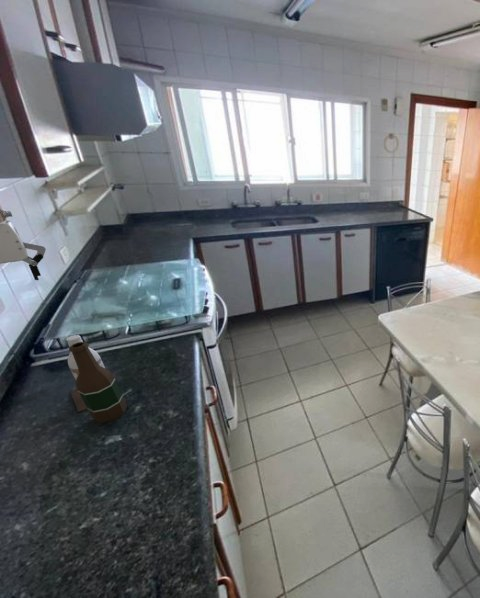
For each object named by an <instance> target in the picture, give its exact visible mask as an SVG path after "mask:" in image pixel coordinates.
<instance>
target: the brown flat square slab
mask: <svg viewBox="0 0 480 598" xmlns="http://www.w3.org/2000/svg"><path fill="white" fill-rule="evenodd" d="M113 376H114V377H115V379H116V380H117V375H113ZM70 395H71V398H72V399H73V403H74V405H75V408H76V410H77V412H78V413H81V412H84V411H86V410H88V409H87V407H86V405H85V403H84V401H83V399H82V397H81V395H80V394H79V392H78V389H77V388H76V389H74V390H72V391H70Z"/></svg>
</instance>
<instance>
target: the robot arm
mask: <svg viewBox="0 0 480 598" xmlns="http://www.w3.org/2000/svg"><path fill="white" fill-rule="evenodd" d="M10 217H11V218H12V217H13V213H12V211H11V210H10V211H6V210H3V209H1V208H0V265H1V264H9V263H14V262H22V261H23V262H24V263H26V264H28V267H29V269H30V272H31V275H32V277H33V278H34V281H39V277H41V276H42V275H41V272H40V270H39V267H38V265H39V263H40V262H41V261H42V260H43V259H44V256H45V254H46V250H47V249H46V247H45V246H42V245H37V244H33V243H29V242H24V241H23V240H22V237H21V236H20V234H19V232H18V230H17V228H16V227H15V225H14V224H13V223H12V222H11V220H7V218H10ZM27 249H28V250H32V251H36V254H35V255H34V256H33V257H31V256H29V255H28V252H27Z"/></svg>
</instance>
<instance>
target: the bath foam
mask: <svg viewBox="0 0 480 598" xmlns="http://www.w3.org/2000/svg"><path fill="white" fill-rule="evenodd" d="M65 340H66V343H67V344H68V346H69V347H70V346H71V345H73V344H75V343H78V342H84V340H83V338H82V337H81V335H79V334H73V335H70V336H68V337H67V338H66V339H65ZM88 348H89V350H90V351H91V353H92V355H93V356H94V358H95V360H96V362H97V363H98V364H99V365H100V366H101V367H103V368H105V369H106V367H105V364H104V362H103V360H102V358H101V355H100V354H99V353H98V351H96V350H94V349H93V348H91V347H90V346H88ZM67 365H68V368H69V370H70V372H71V374H72V376H73V377H74V379H75V381H76V379H77V377H78V375H79V370H78V367H77V364H76V362H75V359H74V356H73V354H72V352H70V351H69V354H68V357H67Z"/></svg>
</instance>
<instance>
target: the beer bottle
mask: <svg viewBox="0 0 480 598" xmlns="http://www.w3.org/2000/svg"><path fill="white" fill-rule="evenodd" d="M88 347H89V348H90V345H89V344H88V342H85V341H83V342H78V343H75V344H73V345H71V346H69V347H68V351H69V353H70V352H72V354H73V356H74V359H75V362H76V364H77V367H78V370H79V375H78V377H77V379H76V380H75V386H76V390H77V389H78V392H79V394H80V395H81V397H82V399H83V401H84V403H85V405H86V407H87V409H86V410H88V413H89V414H90V417H91V418H92V419H93V420H94V421H95V422H98V423H99V424H102V423H108V422H112V421H114V420H116V419H117V418H119V417H120V416H122V415H124V414H125V412H126V410H127V408H128V405H127V402H126V399H125V397H124V395H123V392H122V390H121V388H120V386H119V384H118V382H117V378H116V379H115V377H114V376H115V375H114V373H113V372H111V371H110V370H109V369H107V368H106V367H105V368H103V367H101V366H100V365H99V364H98V363H97V362H96V360H95V358H94V356H93V355H92V353H91V351H90V350H89V348H88Z"/></svg>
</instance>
